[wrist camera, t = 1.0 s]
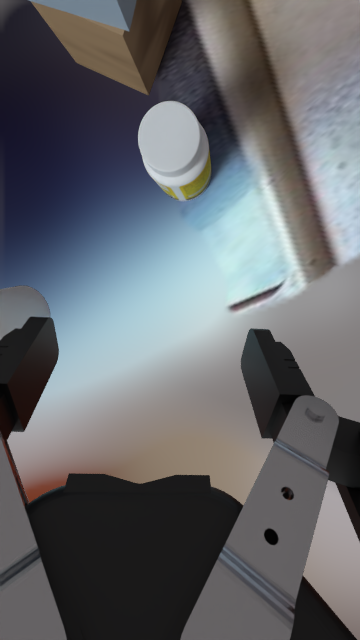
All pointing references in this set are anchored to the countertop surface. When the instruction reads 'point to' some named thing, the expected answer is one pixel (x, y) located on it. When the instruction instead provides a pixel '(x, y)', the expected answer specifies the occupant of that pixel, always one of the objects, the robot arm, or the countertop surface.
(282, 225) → the countertop surface
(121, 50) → the walnut block
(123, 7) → the slate block
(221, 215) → the countertop surface
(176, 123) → the supplement bottle
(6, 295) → the white bottle
